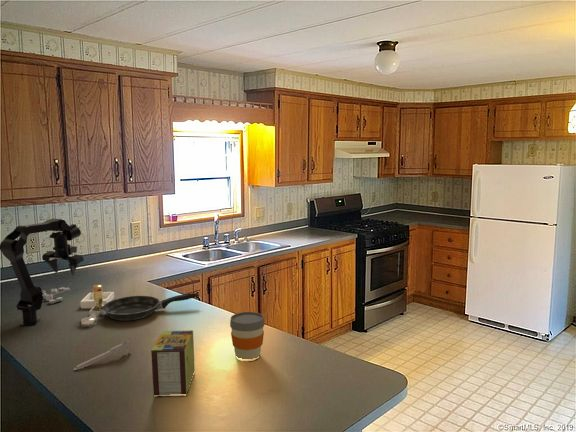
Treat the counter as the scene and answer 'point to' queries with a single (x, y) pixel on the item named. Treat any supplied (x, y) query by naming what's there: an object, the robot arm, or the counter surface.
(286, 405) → the counter surface
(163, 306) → the frying pan
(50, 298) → the pulley system
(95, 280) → the counter surface
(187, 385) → the protein box
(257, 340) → the reusable coffee cup
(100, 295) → the pin
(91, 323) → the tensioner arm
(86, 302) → the parts tray
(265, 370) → the counter surface
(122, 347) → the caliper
